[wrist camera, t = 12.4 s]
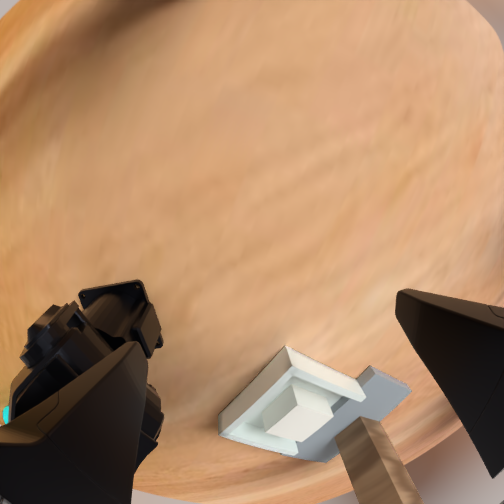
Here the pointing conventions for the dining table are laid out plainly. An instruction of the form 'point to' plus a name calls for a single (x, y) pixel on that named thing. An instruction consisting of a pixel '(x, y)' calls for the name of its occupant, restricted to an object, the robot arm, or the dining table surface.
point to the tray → (270, 387)
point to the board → (354, 413)
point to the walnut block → (375, 465)
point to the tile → (296, 414)
